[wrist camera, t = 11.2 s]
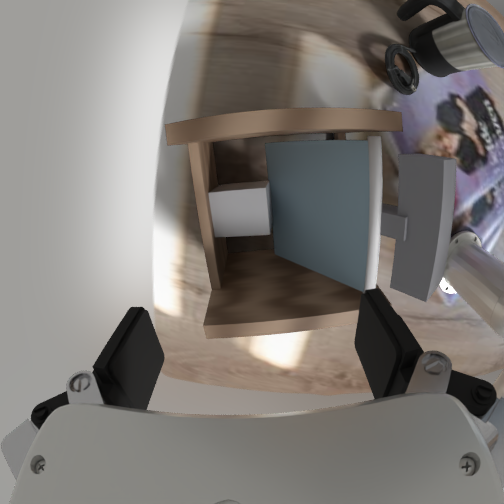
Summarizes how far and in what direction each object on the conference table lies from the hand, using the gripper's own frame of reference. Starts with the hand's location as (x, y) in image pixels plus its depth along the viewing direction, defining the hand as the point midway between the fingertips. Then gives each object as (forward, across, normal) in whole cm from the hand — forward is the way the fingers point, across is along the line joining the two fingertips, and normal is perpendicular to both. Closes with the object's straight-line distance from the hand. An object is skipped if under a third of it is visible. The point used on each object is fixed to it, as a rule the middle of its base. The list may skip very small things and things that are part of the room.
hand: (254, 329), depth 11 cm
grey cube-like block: (+20, -2, 0) cm, 21 cm away
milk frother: (+28, -27, -21) cm, 44 cm away
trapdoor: (+19, -12, 0) cm, 22 cm away
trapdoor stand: (+27, -3, 0) cm, 27 cm away
